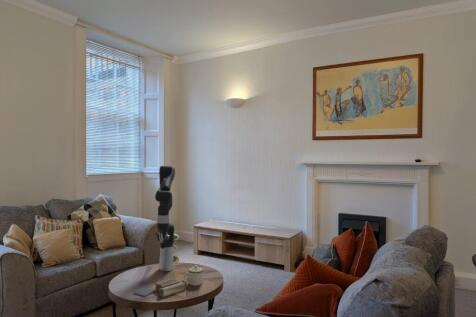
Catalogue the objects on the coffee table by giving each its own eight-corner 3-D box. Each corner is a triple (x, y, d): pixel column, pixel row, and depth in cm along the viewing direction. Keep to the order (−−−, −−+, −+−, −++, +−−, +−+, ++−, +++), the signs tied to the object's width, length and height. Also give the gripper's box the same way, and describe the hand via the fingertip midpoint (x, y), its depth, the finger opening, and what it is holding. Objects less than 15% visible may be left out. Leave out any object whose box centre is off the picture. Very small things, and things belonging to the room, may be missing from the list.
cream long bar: (159, 296, 197) (159, 288, 197) (183, 287, 211) (183, 280, 211) (162, 297, 195) (162, 289, 195) (186, 288, 209) (186, 281, 209)
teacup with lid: (201, 280, 224) (201, 262, 223) (203, 285, 215) (203, 267, 215) (183, 281, 221) (183, 263, 221) (184, 286, 212) (184, 268, 212)
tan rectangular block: (155, 290, 206) (155, 282, 206) (172, 285, 214) (172, 277, 214) (162, 294, 200) (162, 286, 200) (179, 289, 208) (179, 281, 208)
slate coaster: (133, 293, 200) (133, 292, 200) (144, 288, 208) (144, 287, 208) (145, 296, 196) (145, 295, 196) (155, 291, 204) (155, 290, 204)
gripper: (152, 220, 218) (151, 247, 218) (164, 224, 209) (163, 251, 209) (162, 219, 223) (161, 245, 224) (174, 222, 214) (173, 249, 215)
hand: (162, 248), depth 216 cm, fingers closed
